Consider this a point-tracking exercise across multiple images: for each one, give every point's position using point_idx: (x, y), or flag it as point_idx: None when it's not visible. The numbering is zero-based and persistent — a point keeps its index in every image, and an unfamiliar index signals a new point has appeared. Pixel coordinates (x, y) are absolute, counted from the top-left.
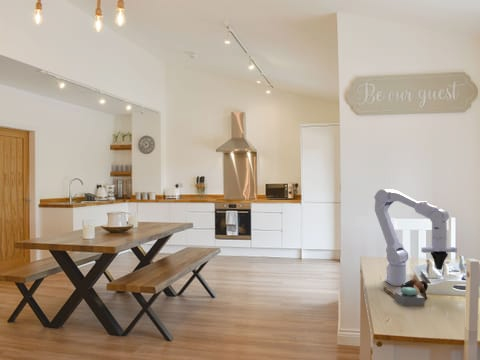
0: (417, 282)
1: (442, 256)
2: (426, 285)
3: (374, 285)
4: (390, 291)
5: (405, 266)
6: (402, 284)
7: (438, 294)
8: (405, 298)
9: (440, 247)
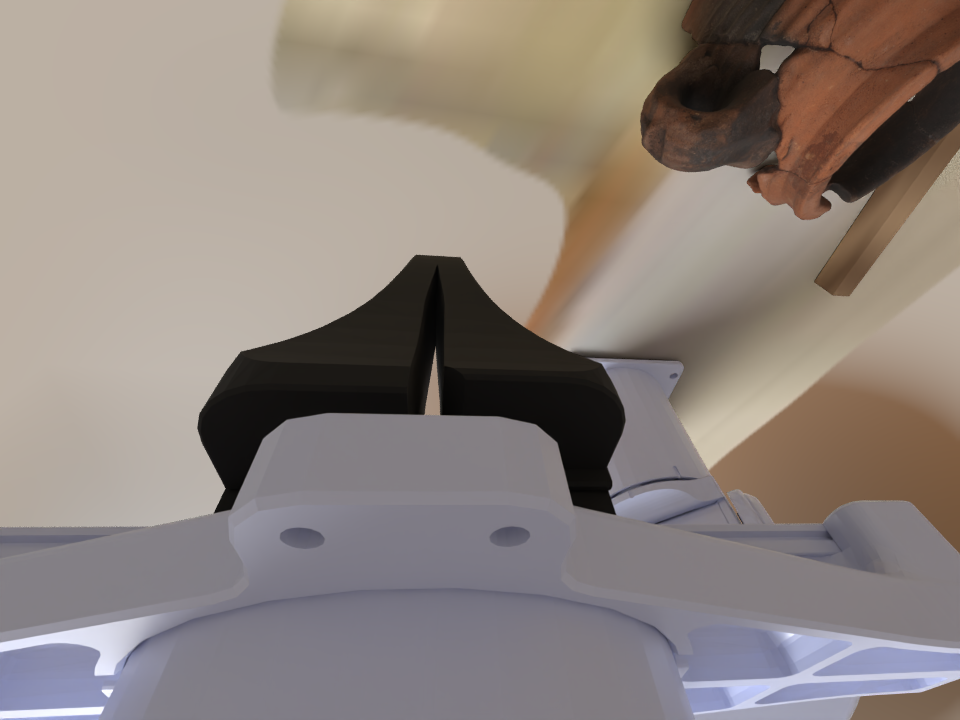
0: (916, 17)
1: (414, 351)
2: (674, 97)
3: (777, 380)
4: (952, 156)
5: (619, 484)
6: (868, 189)
7: (492, 102)
8: None
9: (538, 700)
